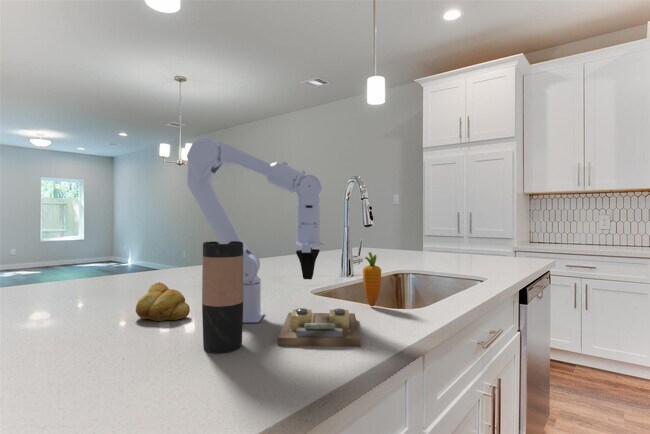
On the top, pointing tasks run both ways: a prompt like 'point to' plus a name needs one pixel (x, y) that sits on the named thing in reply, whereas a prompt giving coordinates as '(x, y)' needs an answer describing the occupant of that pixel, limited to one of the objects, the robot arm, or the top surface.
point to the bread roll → (162, 304)
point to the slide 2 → (340, 318)
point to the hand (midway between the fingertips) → (307, 278)
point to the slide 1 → (300, 318)
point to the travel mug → (222, 296)
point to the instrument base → (320, 332)
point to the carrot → (372, 280)
